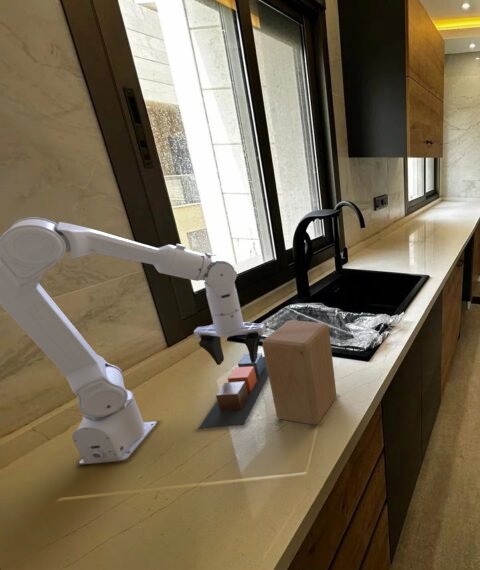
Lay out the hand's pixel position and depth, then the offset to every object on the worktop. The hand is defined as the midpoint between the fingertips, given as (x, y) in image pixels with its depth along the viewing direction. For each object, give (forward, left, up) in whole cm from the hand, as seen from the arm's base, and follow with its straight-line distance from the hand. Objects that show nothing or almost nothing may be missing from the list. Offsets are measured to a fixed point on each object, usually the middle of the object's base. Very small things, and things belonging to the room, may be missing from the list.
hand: (237, 361), depth 78 cm
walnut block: (-6, 0, -8) cm, 10 cm away
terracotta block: (0, 0, -8) cm, 8 cm away
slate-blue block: (+6, 0, -8) cm, 10 cm away
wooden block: (-9, -17, -8) cm, 21 cm away
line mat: (0, 0, -8) cm, 8 cm away
